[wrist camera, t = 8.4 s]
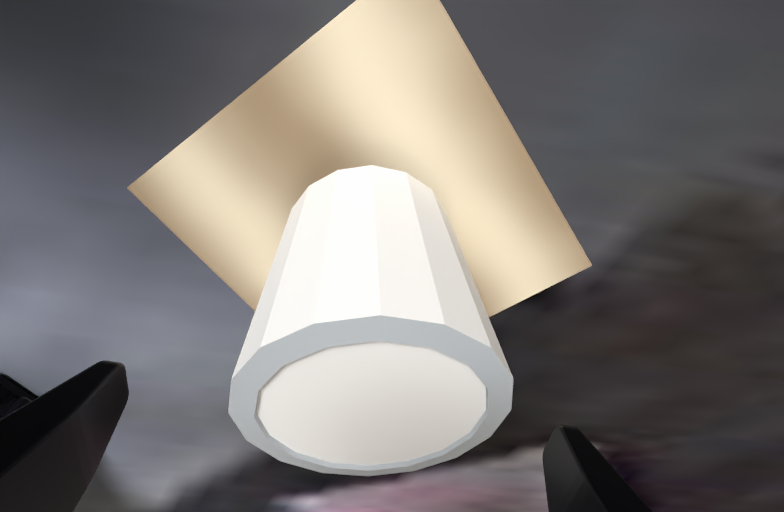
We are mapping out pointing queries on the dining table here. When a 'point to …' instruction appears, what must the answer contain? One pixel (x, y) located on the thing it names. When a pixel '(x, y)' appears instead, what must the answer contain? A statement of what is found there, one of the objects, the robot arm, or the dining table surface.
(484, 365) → the shot glass
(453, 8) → the dining table surface
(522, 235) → the ash block
